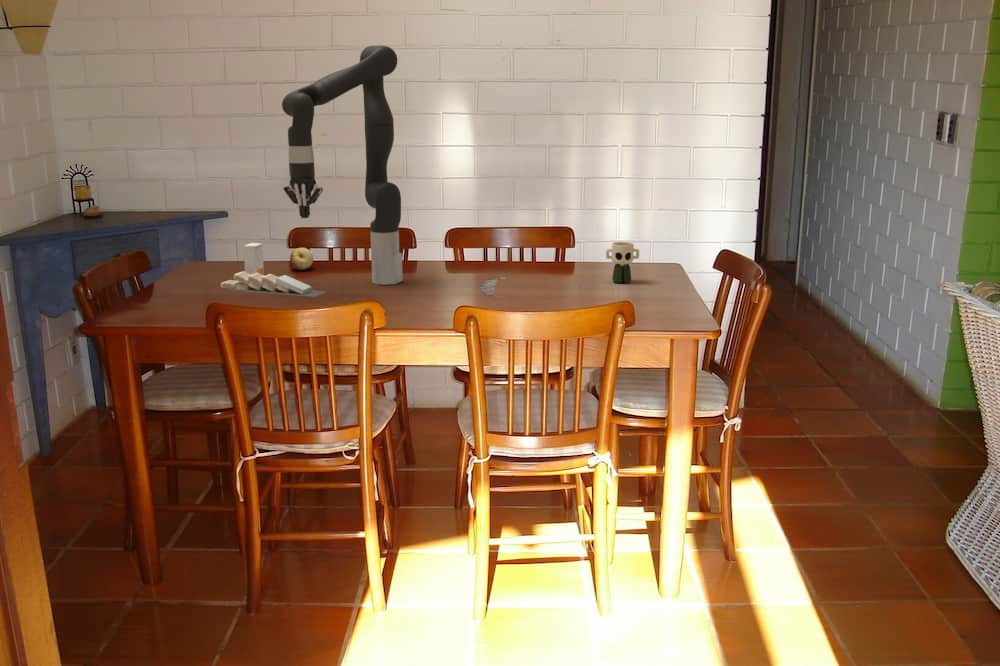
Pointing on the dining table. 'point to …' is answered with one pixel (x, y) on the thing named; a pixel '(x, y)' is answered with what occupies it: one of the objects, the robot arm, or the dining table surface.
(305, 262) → the fruit
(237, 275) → the domino
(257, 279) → the domino
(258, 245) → the skincare box
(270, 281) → the domino
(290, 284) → the domino
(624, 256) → the character mug
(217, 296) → the dining table surface
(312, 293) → the mat
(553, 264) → the dining table surface
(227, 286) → the domino
